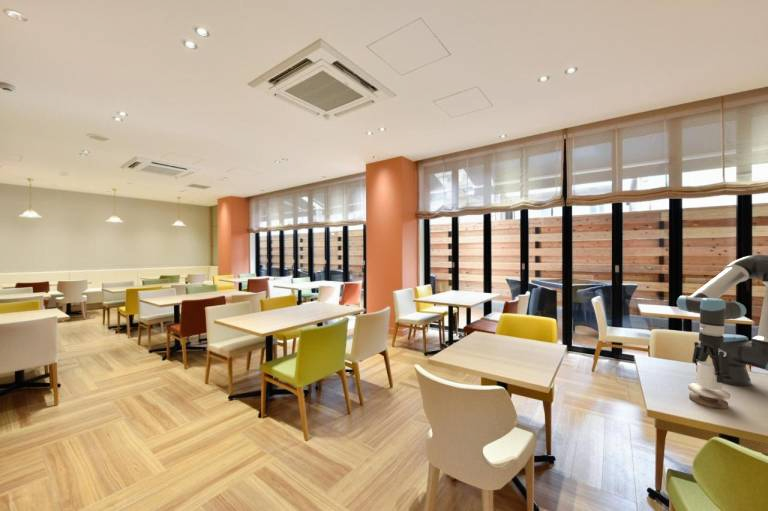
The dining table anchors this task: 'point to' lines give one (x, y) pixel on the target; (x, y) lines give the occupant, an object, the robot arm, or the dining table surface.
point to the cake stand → (708, 396)
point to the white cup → (705, 374)
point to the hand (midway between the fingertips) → (708, 384)
